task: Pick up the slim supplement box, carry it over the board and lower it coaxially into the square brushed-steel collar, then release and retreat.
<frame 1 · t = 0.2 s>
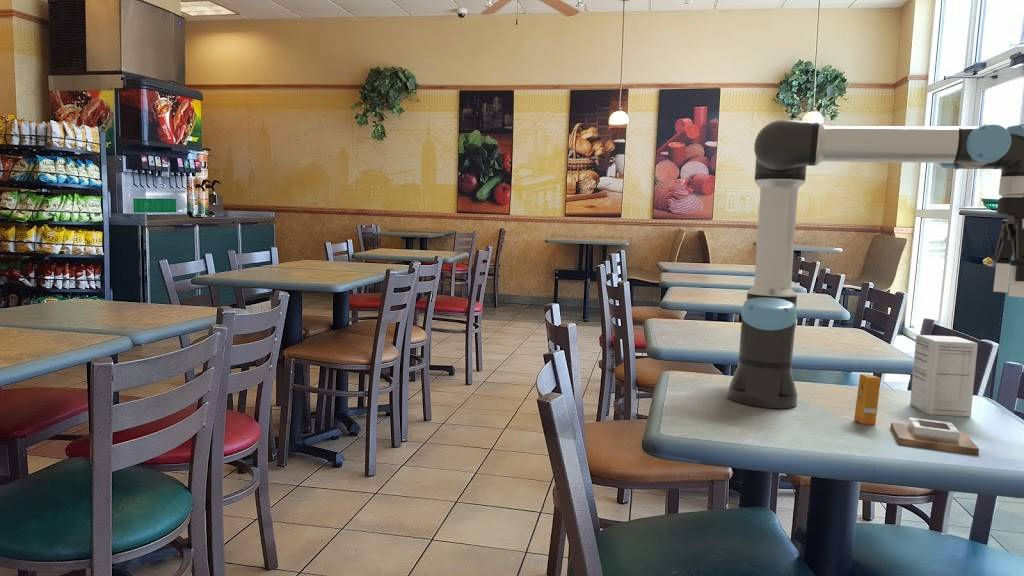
hand: (1008, 294, 155), 28 cm above the table, fingers open, 13 cm apart
supplement box 2: (939, 411, 162), on the table
board: (931, 440, 137), on the table
supplement box: (865, 423, 148), on the table
collar: (933, 429, 137), on the board, point 2 cm above the table
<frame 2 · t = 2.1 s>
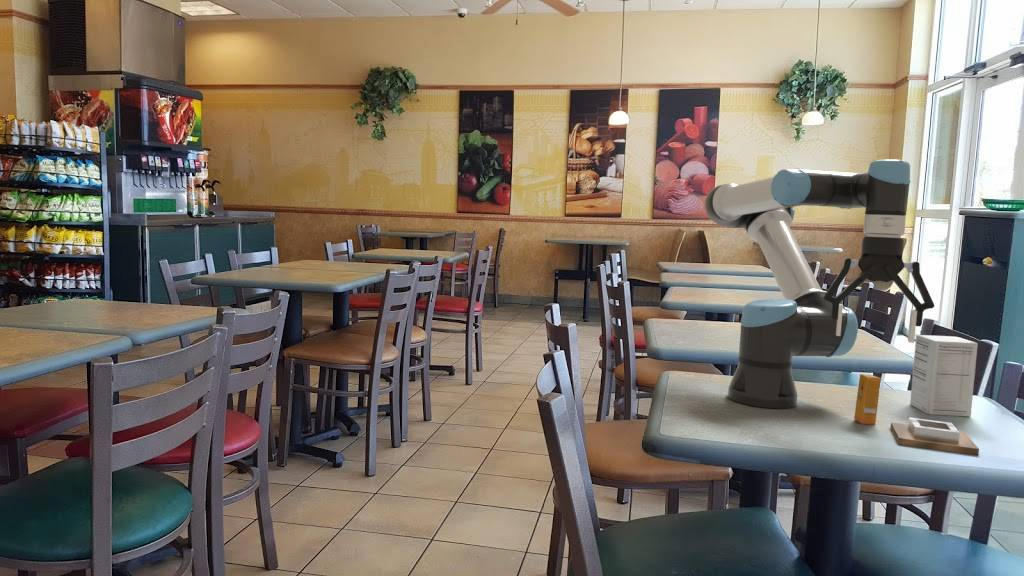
hand: (873, 338, 147), 18 cm above the table, fingers open, 13 cm apart
nothing on the table moved.
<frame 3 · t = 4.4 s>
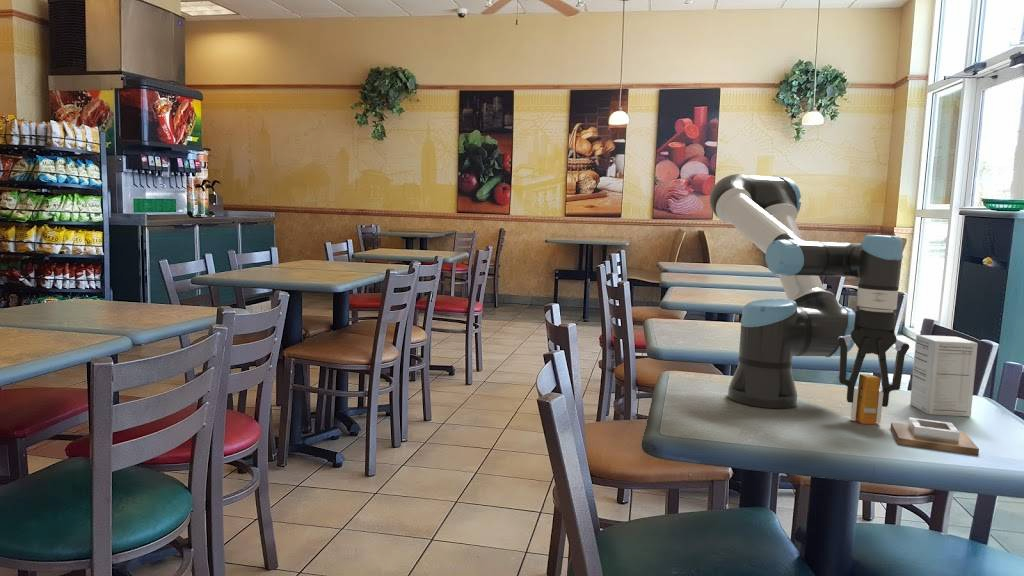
hand: (865, 419, 148), 1 cm above the table, fingers closed on supplement box, 4 cm apart
supplement box: (865, 423, 148), on the table, touching gripper
everything else where it was.
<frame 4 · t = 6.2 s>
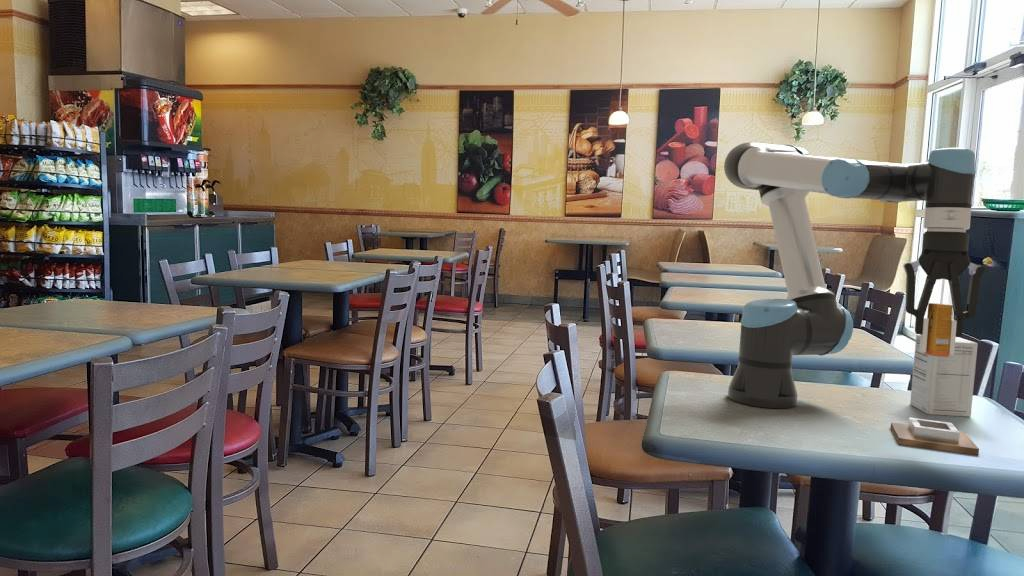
hand: (936, 352, 136), 17 cm above the table, fingers closed on supplement box, 4 cm apart
supplement box: (936, 356, 136), point 17 cm above the table, touching gripper
everything else where it was.
when the fingers open (4 cm above the table, at t = 8.2 s): supplement box drops 2 cm, resting on board.
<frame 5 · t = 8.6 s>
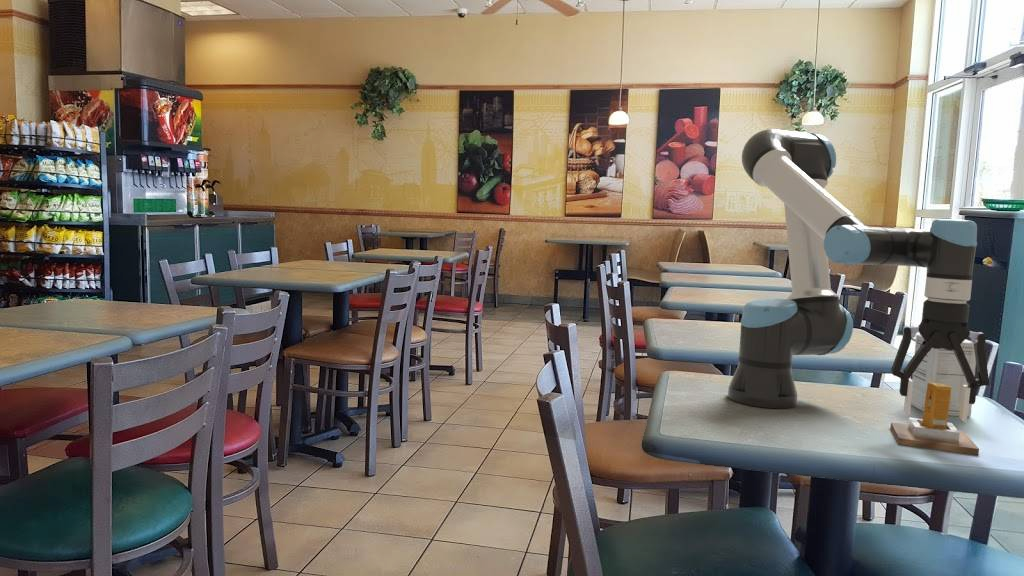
hand: (934, 416, 137), 5 cm above the table, fingers open, 9 cm apart
supplement box: (933, 435, 137), point 1 cm above the table, touching board
everything else where it was.
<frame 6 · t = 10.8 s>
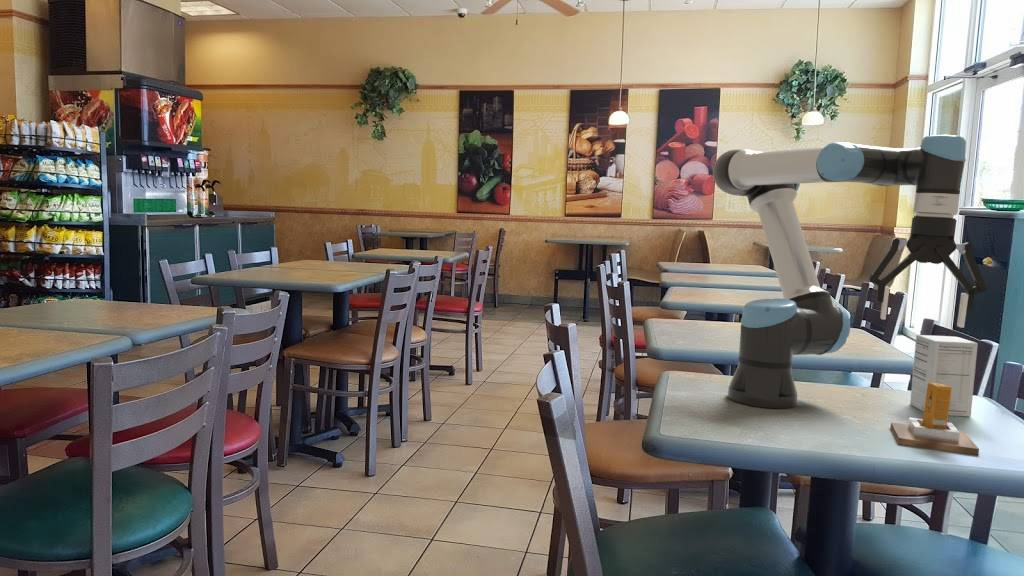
hand: (920, 322, 141), 22 cm above the table, fingers open, 13 cm apart
nothing on the table moved.
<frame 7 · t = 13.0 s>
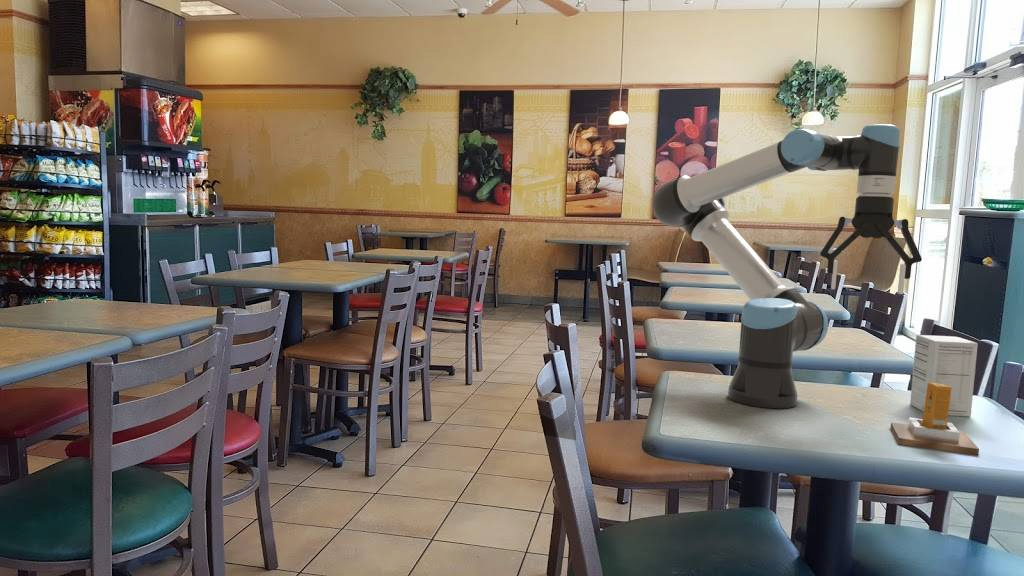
hand: (866, 291, 158), 27 cm above the table, fingers open, 13 cm apart
nothing on the table moved.
at the end: supplement box 0.2 cm off-centre on the collar, point 1.0 cm above the collar's base; supplement box tilted 0°; the gripper is holding nothing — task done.
